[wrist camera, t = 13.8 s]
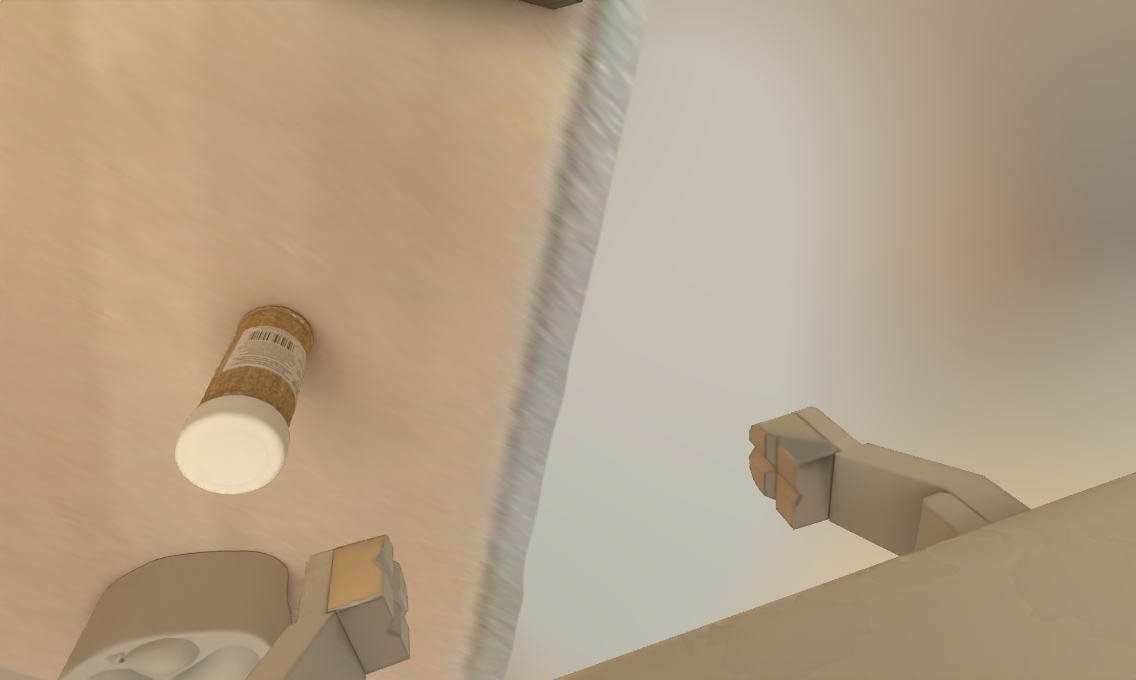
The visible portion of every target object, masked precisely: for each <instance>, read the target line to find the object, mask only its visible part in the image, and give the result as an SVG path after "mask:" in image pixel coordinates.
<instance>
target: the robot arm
mask: <svg viewBox="0 0 1136 680" xmlns="http://www.w3.org/2000/svg"><path fill="white" fill-rule="evenodd" d="M749 434H750V436H749V440H750V441H751V443H752V444H753V445H754V446H755V448H754V449H753V451H752V453H751V454H750V456H749V460H750V470H751V473H752V477H753V480H754V481H755V483H756V485H757V487H758V488H759V490H760V491H761V492H762V493H763V494H764V495H765V496H767V497H769V498H772V499H775V500H776V510H777V511H778V512H779V513H780V514H781V515H782V517H783V518H784V519H785V520H786V521H787V522H788V524H789V525H790V526H791V527H792V528H793V529H798V528H801V527H804V526H807V525H811V524H814V523H818V522H821V521H824V520H827V519H829V521H831V522H833V523H835V524H836V525H838V526H840V527H842V528H844V529H846V530H848V531H850V532H852V533H854V534H856V535H859V536H860V537H863V538H865V539H866V540H868V541H871V542H872V543H875V544H876V545H878V546H880V547H883V548H884V549H887V550H889V551H891V552H893V553H895V554H897V555H899V557H897V558H894V559H891V560H888V561H885V562H883V563H880V564H877V565H874V566H872V567H869V568H866V569H863V570H860V571H857V572H855V573H852V574H849V575H846V576H844V577H841V578H838V579H835V580H832V581H830V582H827V583H824V584H821V585H819V586H815V587H813V588H810V589H807V590H804V591H801V592H799V593H796V594H793V595H790V596H787V597H784V598H782V599H779V600H776V601H773V602H770V603H768V604H765V605H762V606H759V607H756V608H753V609H751V610H748V611H745V612H742V613H739V614H737V615H734V616H731V617H728V618H725V619H722V620H720V621H717V622H714V623H711V624H708V625H706V626H703V627H700V628H697V629H695V630H692V631H689V632H686V633H683V634H680V635H678V636H675V637H672V638H669V639H666V640H664V641H661V642H658V643H655V644H652V645H650V646H647V647H644V648H641V649H639V650H636V651H633V652H630V653H628V654H625V655H622V656H619V657H616V658H613V659H611V660H608V661H605V662H602V663H599V664H596V665H594V666H591V667H588V668H585V669H582V670H580V671H577V672H574V673H571V674H568V675H566V676H563V677H560V678H557V679H555V680H1136V472H1135V473H1132V474H1129V475H1127V476H1124V477H1121V478H1118V479H1115V480H1113V481H1110V482H1107V483H1104V484H1101V485H1098V486H1096V487H1093V488H1090V489H1087V490H1084V491H1082V492H1079V493H1076V494H1073V495H1070V496H1068V497H1065V498H1062V499H1059V500H1057V501H1054V502H1051V503H1049V504H1045V505H1042V506H1040V507H1037V508H1034V509H1030V508H1028V507H1027V506H1026V505H1024V504H1023V503H1021V502H1020V501H1019V500H1017V499H1016V498H1014V497H1013V496H1011V495H1010V494H1009V493H1007V492H1006V491H1004V490H1003V489H1002V488H1000V487H999V486H997V485H996V484H995V483H993V482H992V481H990V480H989V479H988V478H986V477H985V476H983V475H979V474H975V473H972V472H968V471H965V470H961V469H958V468H954V467H950V466H947V465H944V464H940V463H937V462H933V461H930V460H926V459H922V458H919V457H915V456H912V455H908V454H905V453H901V452H898V451H894V450H891V449H887V448H884V447H880V446H876V445H873V444H869V443H867V444H863V445H862V444H860V443H859V442H858V441H857V440H856V439H854V438H853V437H852V436H850V435H849V434H848V433H847V432H846V431H844V430H843V429H842V428H841V427H840V426H838V425H837V424H836V423H834V422H833V421H832V420H831V419H830V418H829V417H827V416H826V415H825V414H824V413H822V412H821V411H820V410H819V409H817V408H815V407H808V408H805V409H802V410H799V411H795V412H793V413H791V414H787V415H784V416H781V417H778V418H774V419H771V420H768V421H765V422H761V423H758V424H755V425H752V426H751V429H750V431H749ZM407 612H408V596H407V590H406V584H405V580H404V576H403V573H402V570H401V567H400V564H399V563H397V562H395V561H393V547H392V544H391V542H390V540H389V537H388V536H387V535H381V536H378V537H374V538H370V539H367V540H363V541H359V542H356V543H352V544H348V545H345V546H341V547H337V548H336V549H332V550H328V551H325V552H321V553H317V554H314V555H310V557H309V558H308V560H307V562H306V567H305V573H304V579H303V585H302V591H301V597H300V603H299V609H298V615H297V621H296V623H295V624H292V625H289V626H288V627H287V628H286V629H285V631H284V632H283V633H282V634H281V636H280V637H279V638H278V639H277V641H276V642H275V643H274V644H273V646H272V647H271V648H270V649H269V651H268V652H267V653H266V654H265V656H264V657H263V658H262V659H261V661H260V662H259V663H258V664H257V666H256V667H255V668H254V669H253V670H252V672H251V673H250V674H249V675H248V677H247V678H246V679H245V680H365V679H366V674H369V673H372V672H374V671H377V670H380V669H383V668H385V667H388V666H391V665H394V664H396V663H399V662H402V661H405V660H407V659H410V644H409V628H408V625H407V623H406V620H405V617H404V616H405V615H406V613H407Z"/></svg>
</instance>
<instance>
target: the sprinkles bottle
mask: <svg viewBox="0 0 1136 680" xmlns="http://www.w3.org/2000/svg"><path fill="white" fill-rule="evenodd" d="M312 343H313V336H312V332H311V329H310V327H309V325H308V323H307V322H306V321H305V320H304V319H303V318H302V317H301V316H300V315H298V314H297V313H295V312H294V311H292V310H288V309H286V308H283V307H276V306H268V307H262V308H258V309H256V310H254V311H252V312H250V313H248V314H247V315H246V316H245V317H244V318H243V319H242V321H241V322H240V323H239V325H238V329H237V332H236V336H235V337H234V339H233V341H232V342H231V343H230V344H229V346H228V347H227V349H226V351H225V353H224V355H223V357H222V359H221V361H220V363H219V364H218V366H217V369H216V372H215V375H214V377H213V378H212V381H211V383H210V385H209V387H208V388H207V390H206V392H205V395H204V397H203V399H202V401H201V403H200V405H199V406H198V407H197V408H196V409H195V410H194V411H193V412H192V413H191V414H190V415H189V417H188V418H187V420H186V422H185V424H184V426H183V428H182V430H181V432H180V434H179V437H178V439H177V441H176V445H175V459H176V463H177V465H178V468H179V469H180V471H181V472H182V474H183V475H184V476H185V477H186V478H187V479H188V480H189V481H190V482H192V483H193V484H195V485H196V486H198V487H200V488H202V489H205V490H207V491H211V492H215V493H220V494H242V493H247V492H250V491H254V490H256V489H259V488H261V487H263V486H264V485H266V484H268V483H269V482H270V481H271V480H273V479H274V478H275V477H276V476H277V474H278V473H279V472H280V470H281V468H282V466H283V464H284V461H285V458H286V454H287V450H288V446H289V441H290V432H289V427H290V421H291V419H292V416H293V414H294V411H295V408H296V404H297V400H298V396H299V392H300V388H301V384H302V380H303V376H304V372H305V369H306V361H307V356H308V354H309V353H310V351H311V348H312Z"/></svg>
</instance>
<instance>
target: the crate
mask: <svg viewBox="0 0 1136 680" xmlns="http://www.w3.org/2000/svg"><path fill="white" fill-rule="evenodd" d="M520 1H524V2H528V3H531V4H535V5H539V6H542V7H546V8H550V9H558V8H562V7H565V6H569V5H572V4H576V3H580V2H582V1H583V0H520Z"/></svg>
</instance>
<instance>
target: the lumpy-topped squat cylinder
mask: <svg viewBox="0 0 1136 680" xmlns="http://www.w3.org/2000/svg"><path fill="white" fill-rule="evenodd" d="M287 585H288V571H287V568H286V566H285V565H284V564H283V563H282V562H281V561H279V560H278V559H276V558H274V557H272V556H270V555H267V554H263V553H259V552H251V551H223V552H204V553H193V554H184V555H177V556H171V557H165V558H161V559H158V560H155V561H153V562H150V563H148V564H146V565H144V566H142V567H140V568H138V569H136V570H134V571H132V572H130V573H128V574H126V575H125V576H123V577H122V578H120V579H119V580H117V581H116V582H115V583H114V584H112V585H111V586H110V587H109V588H108V590H107V591H106V592H105V593H104V594H103V596H102V597H101V599H100V600H99V602H98V604H97V606H96V608H95V610H94V612H93V614H92V615H91V617H90V619H89V621H88V623H87V625H86V627H85V629H84V631H83V632H82V634H81V636H80V638H79V640H78V642H77V644H76V646H75V648H74V650H73V651H72V653H71V655H70V657H69V659H68V661H67V663H66V665H65V667H64V669H63V671H62V672H61V674H60V676H59V678H58V680H245V679H246V678H247V677H248V675H249V674H250V673H251V672H252V670H253V669H254V668H255V667H256V666H257V664H258V663H259V662H260V661H261V659H262V658H263V657H264V656H265V654H266V653H267V652H268V651H269V649H270V648H271V647H272V646H273V644H274V643H275V642H276V641H277V639H278V638H279V637H280V636H281V634H282V633H283V632H284V631H285V629H286V628H287V627H288V626H289V625H290V623H291V611H290V608H289V605H288V602H287V597H286V592H287Z"/></svg>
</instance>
